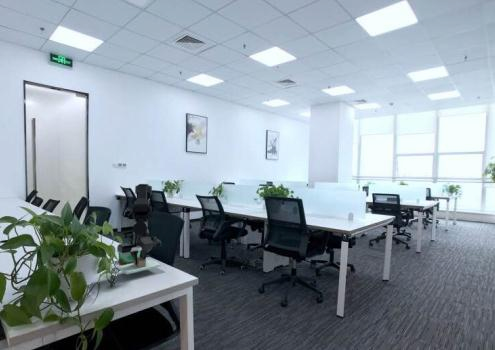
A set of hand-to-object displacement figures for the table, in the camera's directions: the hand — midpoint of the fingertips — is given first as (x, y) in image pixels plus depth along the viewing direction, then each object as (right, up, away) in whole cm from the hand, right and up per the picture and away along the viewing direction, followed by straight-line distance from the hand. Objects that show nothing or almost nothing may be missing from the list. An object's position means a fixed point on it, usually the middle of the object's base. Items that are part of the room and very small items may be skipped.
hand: (139, 263), depth 129 cm
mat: (0, -5, 0) cm, 5 cm away
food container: (-8, -5, +10) cm, 13 cm away
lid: (0, -2, 0) cm, 2 cm away
